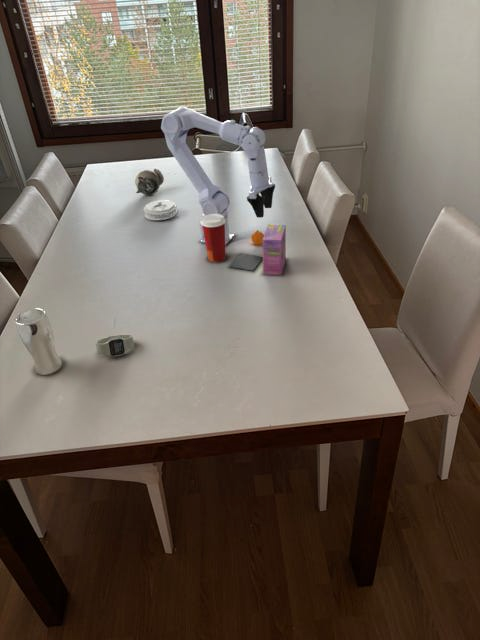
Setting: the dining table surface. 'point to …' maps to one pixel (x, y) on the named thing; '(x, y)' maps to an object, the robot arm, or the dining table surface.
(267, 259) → the box
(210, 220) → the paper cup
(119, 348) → the wristwatch
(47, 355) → the beer glass
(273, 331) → the dining table surface
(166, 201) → the lid
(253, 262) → the felt pad
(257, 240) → the clementine
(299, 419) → the dining table surface
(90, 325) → the dining table surface
